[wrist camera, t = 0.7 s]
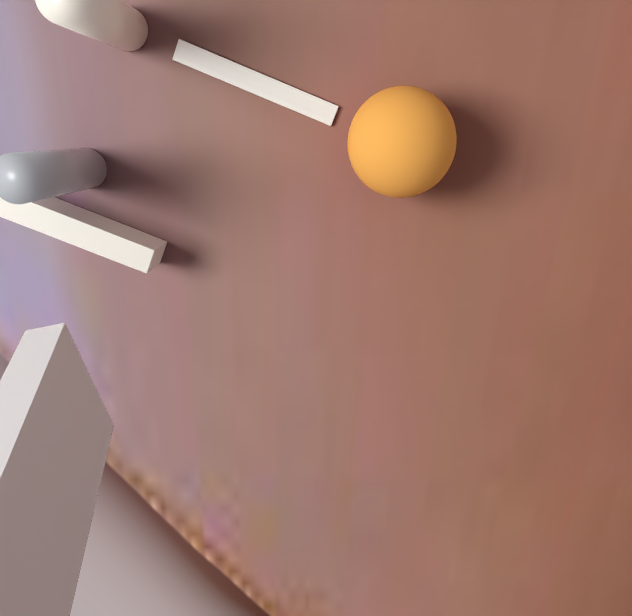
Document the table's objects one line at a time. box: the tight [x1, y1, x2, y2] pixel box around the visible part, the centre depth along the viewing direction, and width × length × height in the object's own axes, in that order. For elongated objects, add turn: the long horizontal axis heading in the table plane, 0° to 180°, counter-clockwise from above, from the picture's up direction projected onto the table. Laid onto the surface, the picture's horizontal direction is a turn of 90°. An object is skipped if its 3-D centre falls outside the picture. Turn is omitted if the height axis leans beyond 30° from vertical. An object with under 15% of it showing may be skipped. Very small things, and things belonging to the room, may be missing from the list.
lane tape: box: [172, 39, 339, 126], centre depth 36 cm, size 10×1×1 cm, turn 68°
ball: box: [348, 86, 457, 198], centre depth 34 cm, size 6×6×6 cm
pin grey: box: [0, 148, 107, 204], centre depth 33 cm, size 2×2×9 cm
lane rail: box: [0, 197, 167, 273], centre depth 34 cm, size 19×23×3 cm
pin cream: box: [35, 0, 148, 51], centre depth 31 cm, size 2×2×9 cm
